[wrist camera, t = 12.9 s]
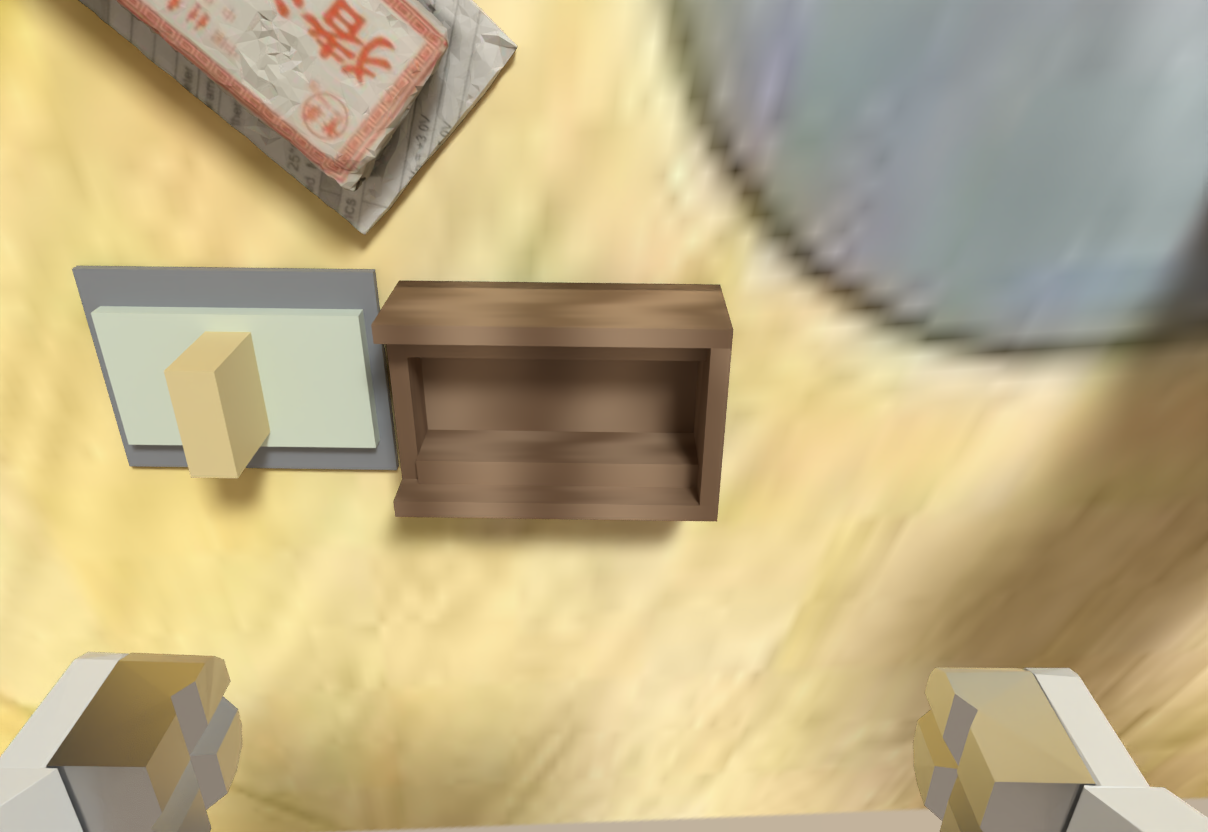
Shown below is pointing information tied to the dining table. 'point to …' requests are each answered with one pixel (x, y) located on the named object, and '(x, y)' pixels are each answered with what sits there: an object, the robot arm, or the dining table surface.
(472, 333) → the box
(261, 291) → the mat
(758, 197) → the dining table surface
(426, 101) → the packaged product
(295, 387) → the lid
